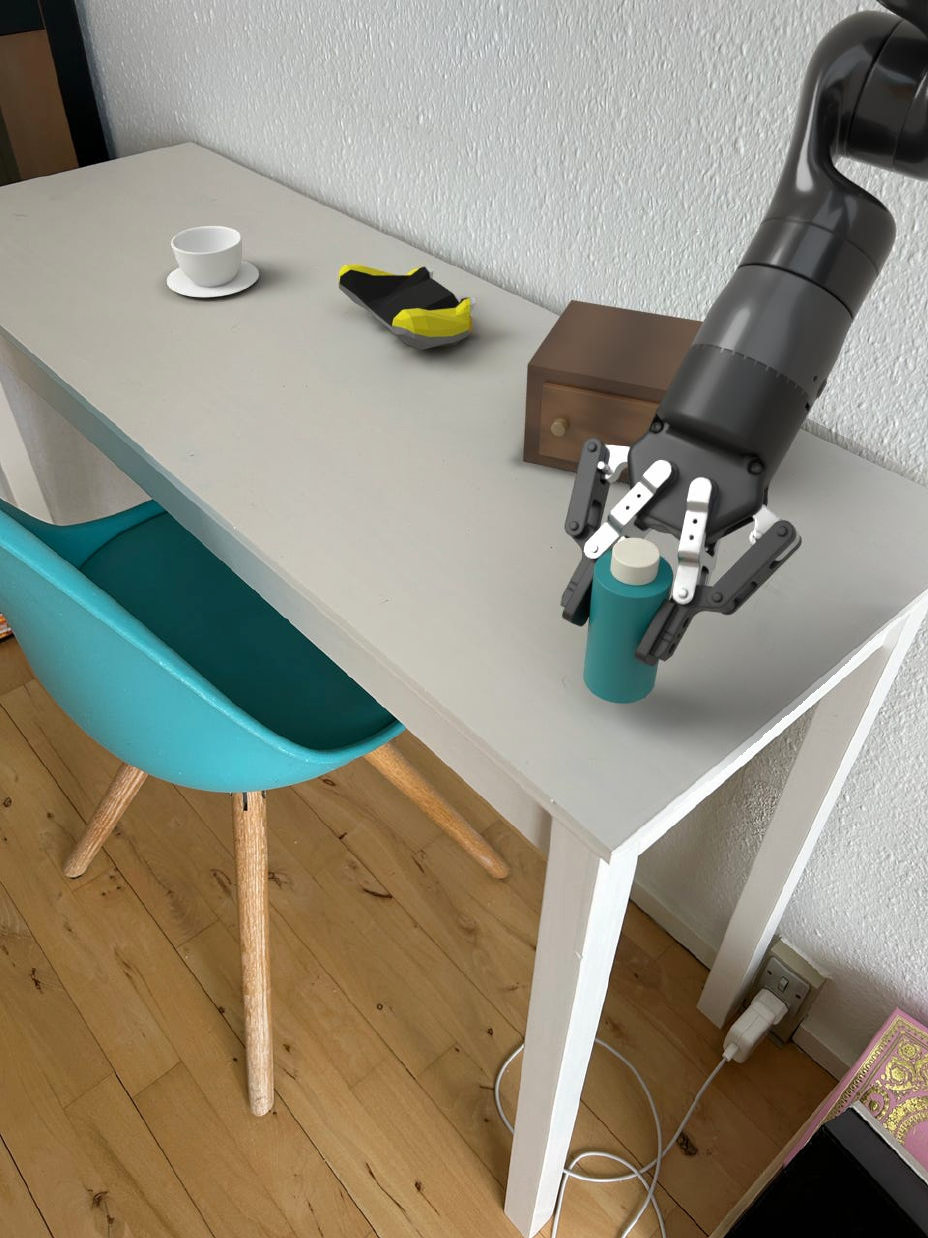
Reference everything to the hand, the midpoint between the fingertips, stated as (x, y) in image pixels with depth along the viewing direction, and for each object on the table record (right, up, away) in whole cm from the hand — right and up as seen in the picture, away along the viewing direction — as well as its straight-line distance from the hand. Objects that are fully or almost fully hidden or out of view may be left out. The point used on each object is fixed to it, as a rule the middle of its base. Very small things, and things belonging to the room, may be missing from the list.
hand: (608, 640), depth 56 cm
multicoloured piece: (-14, +30, +43) cm, 54 cm away
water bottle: (+1, -2, +4) cm, 5 cm away
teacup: (-36, +38, +52) cm, 74 cm away
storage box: (+5, +17, +28) cm, 33 cm away
